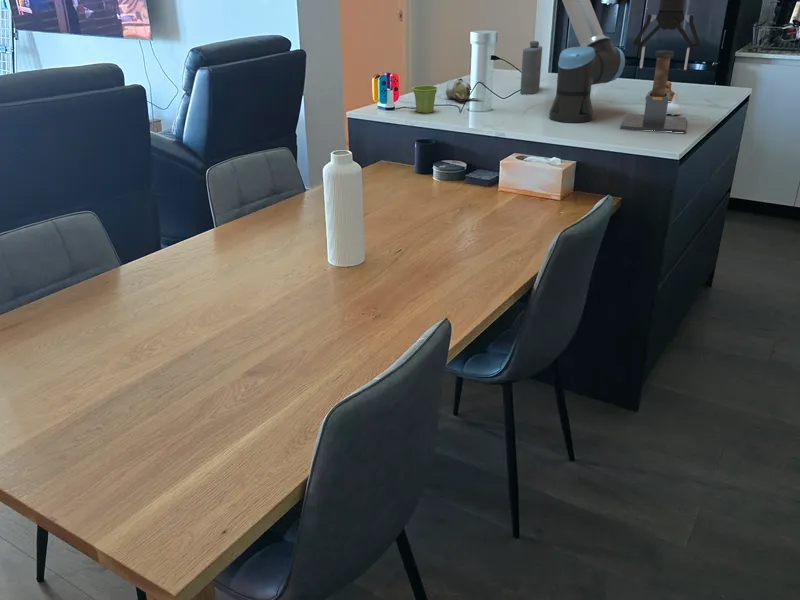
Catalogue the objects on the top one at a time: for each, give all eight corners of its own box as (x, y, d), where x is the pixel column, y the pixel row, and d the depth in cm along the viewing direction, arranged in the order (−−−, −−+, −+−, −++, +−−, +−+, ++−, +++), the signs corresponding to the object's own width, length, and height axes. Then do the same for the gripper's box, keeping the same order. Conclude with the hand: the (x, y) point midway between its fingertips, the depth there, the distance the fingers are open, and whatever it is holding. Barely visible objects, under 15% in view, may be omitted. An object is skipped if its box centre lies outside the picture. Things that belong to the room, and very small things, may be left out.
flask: (532, 95, 285) (536, 43, 276) (518, 94, 287) (522, 43, 278) (542, 89, 297) (545, 39, 288) (528, 88, 299) (532, 39, 290)
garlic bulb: (658, 114, 251) (662, 91, 247) (672, 112, 253) (676, 90, 249) (670, 117, 246) (674, 94, 242) (684, 115, 248) (688, 93, 244)
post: (645, 120, 233) (655, 52, 223) (646, 116, 238) (656, 50, 228) (663, 121, 231) (673, 52, 221) (663, 117, 236) (674, 50, 226)
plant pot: (416, 115, 254) (416, 90, 250) (409, 110, 263) (409, 86, 259) (440, 113, 257) (441, 89, 253) (433, 108, 265) (433, 84, 261)
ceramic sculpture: (458, 73, 282) (484, 80, 272) (457, 95, 287) (482, 103, 276) (438, 76, 276) (464, 84, 266) (438, 99, 281) (463, 106, 271)
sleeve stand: (620, 129, 230) (624, 98, 226) (625, 116, 247) (629, 87, 242) (684, 133, 224) (689, 102, 219) (685, 120, 240) (691, 91, 236)
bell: (678, 98, 276) (681, 79, 273) (675, 104, 266) (678, 84, 263) (647, 96, 281) (650, 77, 277) (643, 102, 271) (646, 82, 268)
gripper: (630, -2, 218) (622, 68, 228) (716, -2, 210) (704, 71, 219) (632, -4, 225) (624, 65, 234) (716, -4, 216) (704, 68, 226)
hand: (662, 68), depth 227 cm, fingers open, 13 cm apart
